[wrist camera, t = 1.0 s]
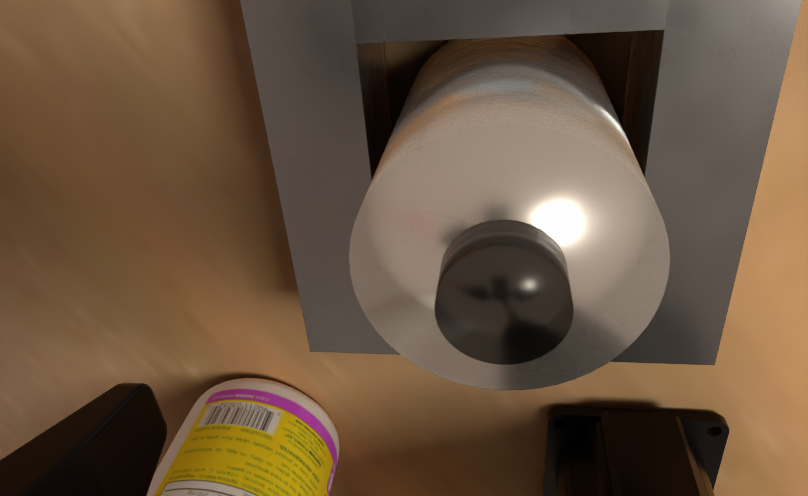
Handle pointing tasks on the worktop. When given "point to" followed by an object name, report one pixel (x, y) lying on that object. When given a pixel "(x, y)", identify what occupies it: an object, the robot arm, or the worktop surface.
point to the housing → (642, 123)
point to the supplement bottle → (250, 444)
